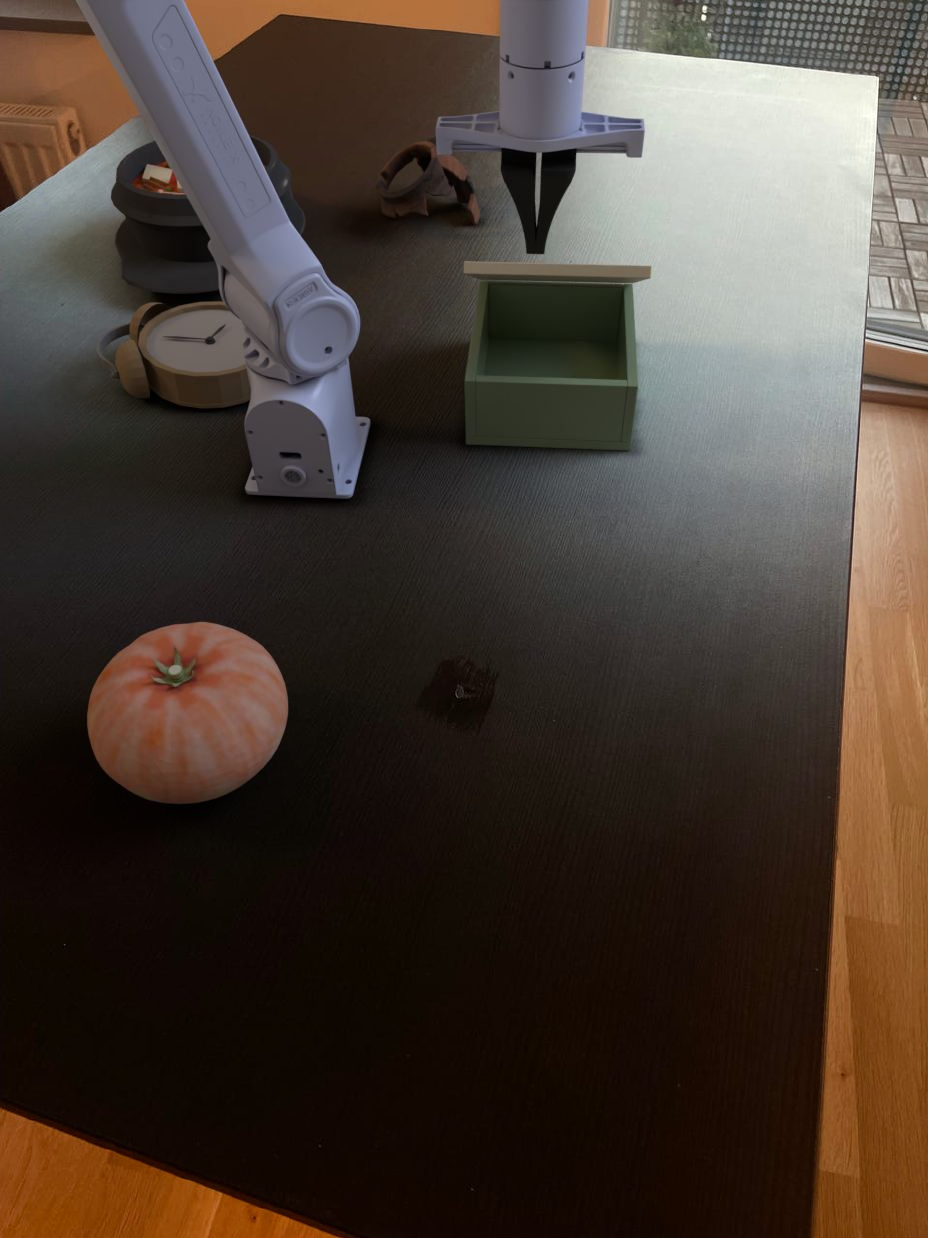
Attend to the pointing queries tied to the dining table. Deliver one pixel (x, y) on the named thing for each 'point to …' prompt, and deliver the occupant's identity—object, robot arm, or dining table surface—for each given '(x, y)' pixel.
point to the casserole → (175, 222)
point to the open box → (552, 365)
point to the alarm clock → (181, 355)
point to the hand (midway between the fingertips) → (535, 247)
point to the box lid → (557, 272)
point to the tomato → (187, 713)
